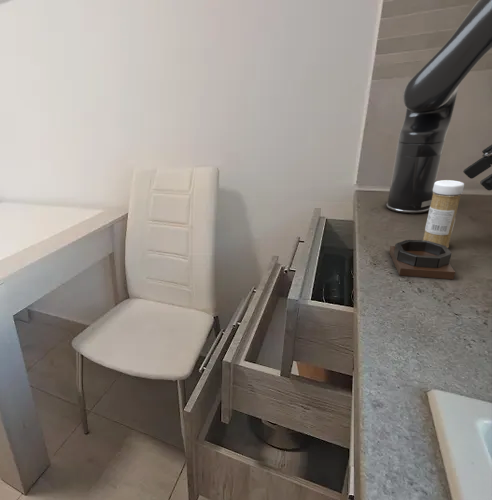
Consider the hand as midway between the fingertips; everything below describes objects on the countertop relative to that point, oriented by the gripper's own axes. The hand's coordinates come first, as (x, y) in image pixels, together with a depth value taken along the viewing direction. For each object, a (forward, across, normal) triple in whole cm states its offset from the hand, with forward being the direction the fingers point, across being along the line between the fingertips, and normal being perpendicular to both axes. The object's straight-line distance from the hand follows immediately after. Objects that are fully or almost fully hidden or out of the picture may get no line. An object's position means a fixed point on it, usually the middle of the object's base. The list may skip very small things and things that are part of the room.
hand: (474, 180), depth 69 cm
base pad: (+16, -10, -4) cm, 19 cm away
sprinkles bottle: (+13, 0, -7) cm, 14 cm away
